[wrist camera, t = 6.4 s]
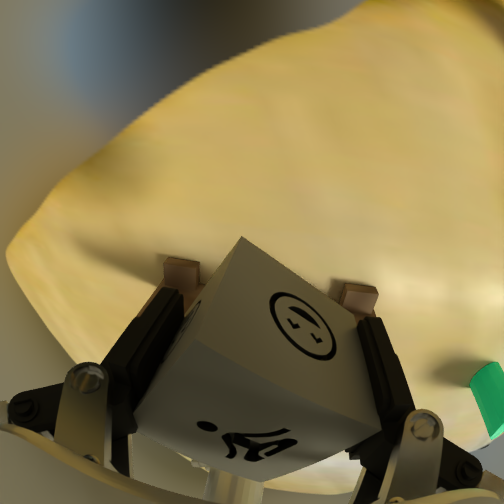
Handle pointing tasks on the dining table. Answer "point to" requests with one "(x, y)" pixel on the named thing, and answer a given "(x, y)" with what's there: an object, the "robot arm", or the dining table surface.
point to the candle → (490, 397)
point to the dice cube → (260, 374)
